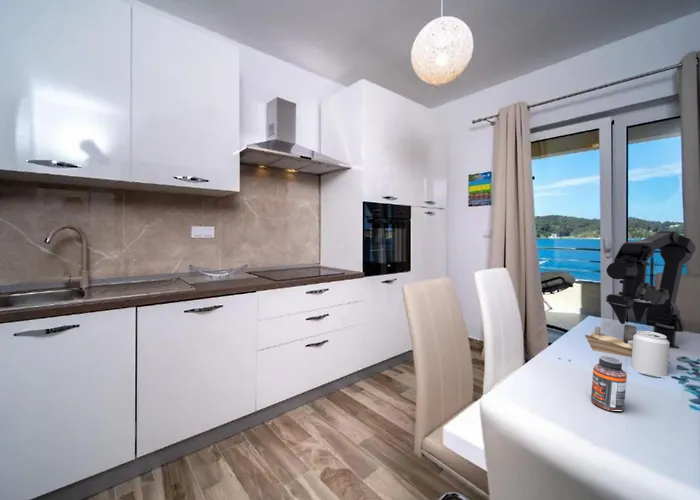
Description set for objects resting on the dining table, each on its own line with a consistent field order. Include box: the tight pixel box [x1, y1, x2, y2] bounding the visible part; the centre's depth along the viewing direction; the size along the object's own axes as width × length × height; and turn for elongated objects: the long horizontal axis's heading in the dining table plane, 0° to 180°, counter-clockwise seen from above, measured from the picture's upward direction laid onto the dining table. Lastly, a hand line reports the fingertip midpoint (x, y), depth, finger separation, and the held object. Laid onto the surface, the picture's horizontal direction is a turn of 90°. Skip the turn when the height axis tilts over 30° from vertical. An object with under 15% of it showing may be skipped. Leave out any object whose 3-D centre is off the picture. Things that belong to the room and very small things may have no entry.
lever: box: [589, 324, 637, 349], centre depth 108 cm, size 18×4×8 cm, turn 19°
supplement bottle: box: [590, 355, 628, 411], centre depth 70 cm, size 6×6×11 cm
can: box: [630, 330, 670, 379], centre depth 88 cm, size 8×8×12 cm
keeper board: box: [584, 334, 672, 365], centre depth 105 cm, size 19×19×5 cm
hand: (630, 322), depth 105 cm, fingers open, 9 cm apart
